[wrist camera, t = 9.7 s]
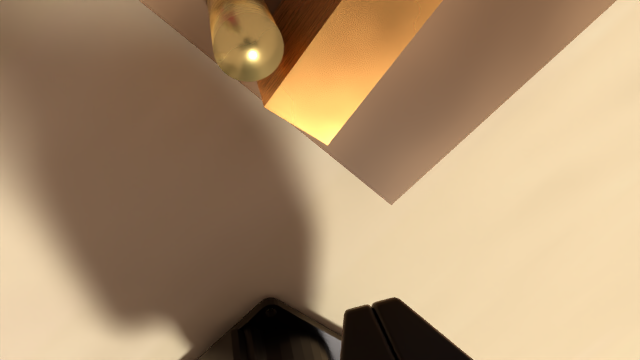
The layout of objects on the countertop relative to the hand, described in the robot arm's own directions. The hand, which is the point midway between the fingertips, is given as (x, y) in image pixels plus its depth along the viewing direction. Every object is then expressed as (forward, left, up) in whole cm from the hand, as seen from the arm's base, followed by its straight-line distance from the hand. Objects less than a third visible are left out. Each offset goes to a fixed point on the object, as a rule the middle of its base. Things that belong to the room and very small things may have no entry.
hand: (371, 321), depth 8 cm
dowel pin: (+2, -1, -12) cm, 12 cm away
